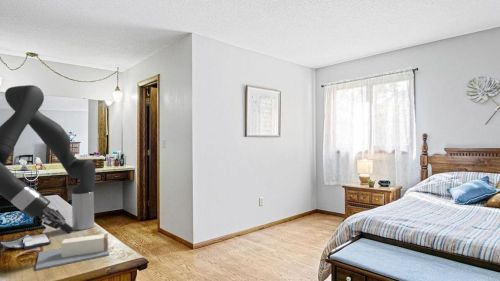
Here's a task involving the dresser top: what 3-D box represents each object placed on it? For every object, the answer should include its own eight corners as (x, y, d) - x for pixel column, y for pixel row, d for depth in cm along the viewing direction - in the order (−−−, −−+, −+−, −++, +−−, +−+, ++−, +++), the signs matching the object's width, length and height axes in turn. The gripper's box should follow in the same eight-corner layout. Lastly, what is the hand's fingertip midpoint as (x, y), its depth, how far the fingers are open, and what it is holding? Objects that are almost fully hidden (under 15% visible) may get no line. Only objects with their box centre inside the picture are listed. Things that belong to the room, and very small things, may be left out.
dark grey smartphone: (21, 241, 127) (24, 251, 115) (21, 237, 127) (24, 247, 115) (45, 236, 133) (51, 245, 121) (45, 233, 133) (51, 241, 121)
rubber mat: (39, 253, 111) (39, 251, 111) (103, 241, 123) (103, 240, 123) (35, 270, 97) (35, 268, 97) (108, 255, 109) (108, 253, 109)
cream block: (61, 243, 106) (107, 237, 111) (64, 239, 110) (108, 233, 116) (61, 257, 106) (107, 250, 111) (64, 252, 110) (108, 246, 116)
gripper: (34, 197, 99) (76, 228, 104) (44, 190, 111) (82, 219, 116) (15, 214, 97) (59, 245, 102) (27, 206, 109) (66, 234, 114)
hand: (71, 231), depth 109 cm, fingers closed
